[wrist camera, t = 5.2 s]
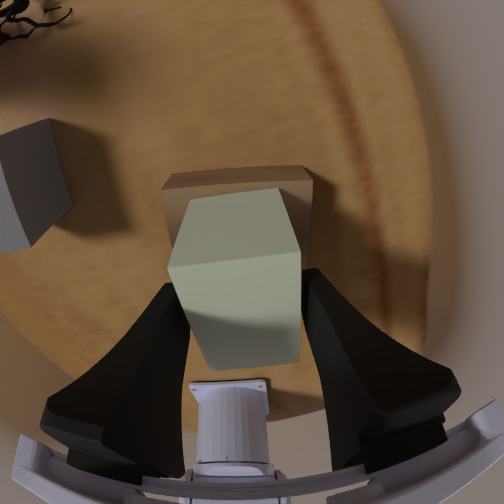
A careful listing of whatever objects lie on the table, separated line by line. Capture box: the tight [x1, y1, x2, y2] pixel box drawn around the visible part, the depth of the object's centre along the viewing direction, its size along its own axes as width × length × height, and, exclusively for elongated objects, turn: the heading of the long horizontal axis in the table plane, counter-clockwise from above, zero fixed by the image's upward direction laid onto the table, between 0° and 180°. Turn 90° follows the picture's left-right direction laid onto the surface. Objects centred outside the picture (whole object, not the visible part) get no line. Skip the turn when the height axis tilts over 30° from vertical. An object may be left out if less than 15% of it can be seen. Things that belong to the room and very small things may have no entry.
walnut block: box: [161, 165, 313, 284], centre depth 15 cm, size 7×7×3 cm
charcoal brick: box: [0, 118, 73, 254], centre depth 11 cm, size 6×4×5 cm, turn 5°
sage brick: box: [167, 188, 301, 371], centre depth 12 cm, size 6×4×5 cm, turn 7°
